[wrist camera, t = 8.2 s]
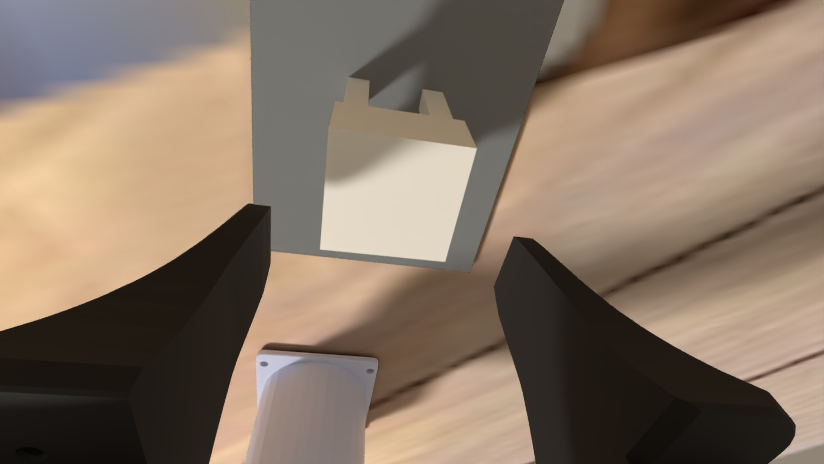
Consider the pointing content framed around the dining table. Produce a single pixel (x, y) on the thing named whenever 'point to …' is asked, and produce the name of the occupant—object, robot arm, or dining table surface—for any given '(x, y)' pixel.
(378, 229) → the cream block with pegs
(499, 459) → the dining table surface
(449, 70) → the mat
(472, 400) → the dining table surface
